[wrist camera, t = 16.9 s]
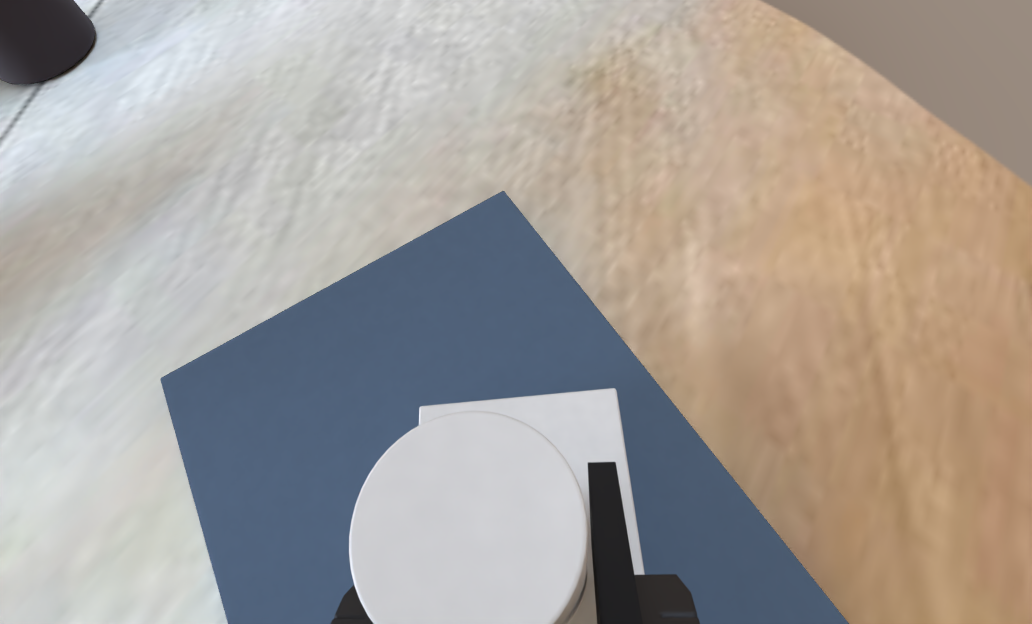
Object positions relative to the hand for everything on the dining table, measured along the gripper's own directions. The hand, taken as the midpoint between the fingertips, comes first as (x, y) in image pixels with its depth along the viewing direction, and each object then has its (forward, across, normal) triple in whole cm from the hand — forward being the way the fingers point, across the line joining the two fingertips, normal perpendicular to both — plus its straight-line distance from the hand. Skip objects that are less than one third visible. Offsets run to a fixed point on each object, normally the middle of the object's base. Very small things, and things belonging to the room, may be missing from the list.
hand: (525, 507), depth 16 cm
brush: (+2, 0, -4) cm, 4 cm away
